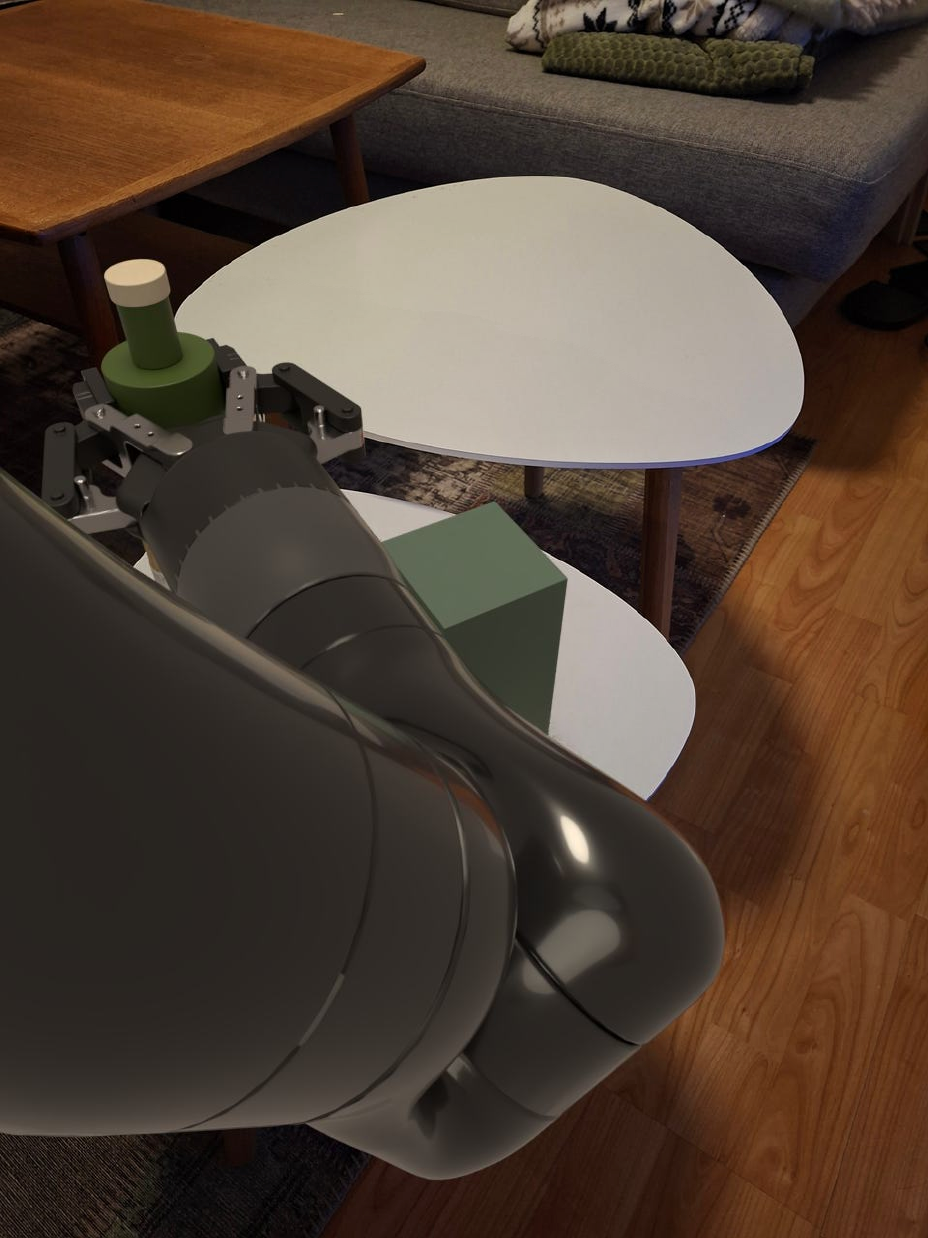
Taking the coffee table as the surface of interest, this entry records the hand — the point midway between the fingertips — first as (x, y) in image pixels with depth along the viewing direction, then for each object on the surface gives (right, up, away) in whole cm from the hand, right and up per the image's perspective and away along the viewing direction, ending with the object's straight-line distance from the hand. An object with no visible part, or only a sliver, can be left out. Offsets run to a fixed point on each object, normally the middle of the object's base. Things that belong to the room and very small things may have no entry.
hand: (152, 371), depth 43 cm
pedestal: (+15, -23, +19) cm, 33 cm away
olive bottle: (+1, -7, +3) cm, 7 cm away
